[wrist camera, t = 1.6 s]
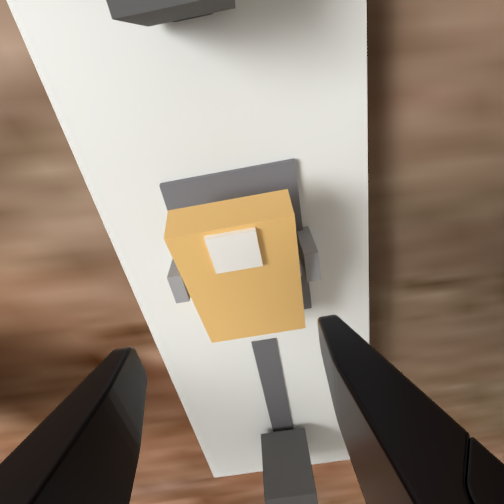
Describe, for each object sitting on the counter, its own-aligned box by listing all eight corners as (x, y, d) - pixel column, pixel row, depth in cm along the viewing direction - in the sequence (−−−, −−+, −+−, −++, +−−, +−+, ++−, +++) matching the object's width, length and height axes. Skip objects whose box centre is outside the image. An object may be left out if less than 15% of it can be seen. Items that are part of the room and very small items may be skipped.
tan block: (210, 316, 18) (209, 346, 17) (165, 211, 13) (160, 242, 12) (301, 301, 18) (308, 331, 17) (290, 188, 13) (298, 218, 12)
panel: (215, 451, 29) (212, 513, 25) (-32, -161, 11) (-167, -264, 8) (362, 431, 28) (381, 491, 24) (343, -254, 11) (402, -421, 7)
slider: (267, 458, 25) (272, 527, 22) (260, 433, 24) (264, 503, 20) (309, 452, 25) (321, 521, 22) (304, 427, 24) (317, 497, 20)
